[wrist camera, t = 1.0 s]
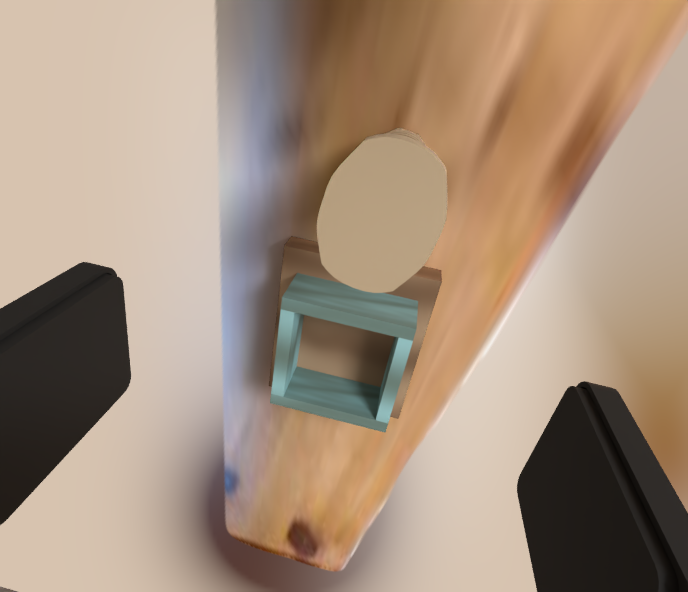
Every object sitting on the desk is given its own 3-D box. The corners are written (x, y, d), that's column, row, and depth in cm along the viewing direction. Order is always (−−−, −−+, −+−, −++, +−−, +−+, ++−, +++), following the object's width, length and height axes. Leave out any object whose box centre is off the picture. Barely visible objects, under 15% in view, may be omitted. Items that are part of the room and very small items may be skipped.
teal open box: (291, 236, 35) (267, 267, 30) (441, 270, 34) (442, 308, 29) (275, 372, 42) (253, 416, 37) (399, 403, 41) (395, 453, 36)
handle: (353, 182, 32) (300, 267, 19) (385, 91, 29) (348, 118, 16) (415, 206, 32) (404, 307, 19) (454, 117, 29) (473, 166, 16)
